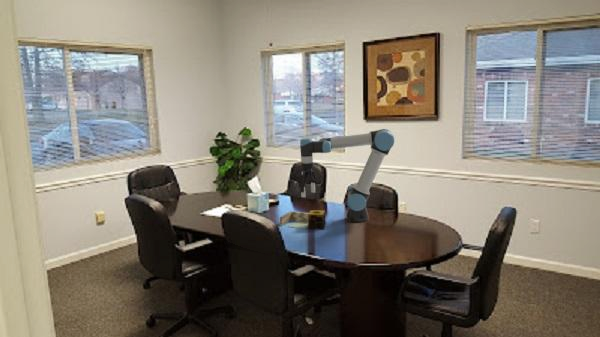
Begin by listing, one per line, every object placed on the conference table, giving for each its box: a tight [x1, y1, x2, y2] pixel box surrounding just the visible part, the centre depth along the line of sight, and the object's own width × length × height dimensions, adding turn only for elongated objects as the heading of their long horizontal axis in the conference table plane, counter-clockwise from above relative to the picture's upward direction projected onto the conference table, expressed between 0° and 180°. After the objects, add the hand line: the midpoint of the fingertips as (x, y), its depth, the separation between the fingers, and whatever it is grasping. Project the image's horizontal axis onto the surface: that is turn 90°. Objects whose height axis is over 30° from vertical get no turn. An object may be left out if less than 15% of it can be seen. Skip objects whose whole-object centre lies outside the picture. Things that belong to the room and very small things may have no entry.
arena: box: [279, 210, 309, 227], centre depth 299 cm, size 19×15×6 cm
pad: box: [287, 221, 308, 230], centre depth 298 cm, size 12×12×1 cm
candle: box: [307, 209, 327, 231], centre depth 291 cm, size 10×10×10 cm
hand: (308, 194), depth 294 cm, fingers open, 13 cm apart
